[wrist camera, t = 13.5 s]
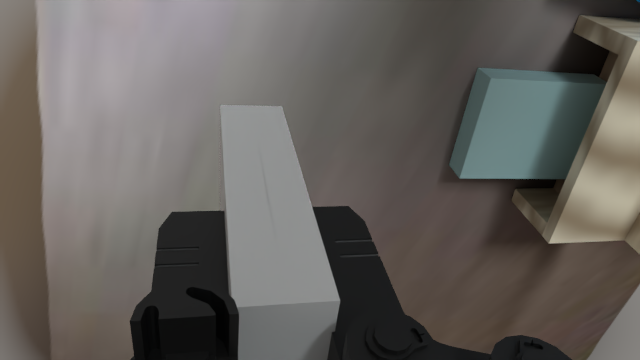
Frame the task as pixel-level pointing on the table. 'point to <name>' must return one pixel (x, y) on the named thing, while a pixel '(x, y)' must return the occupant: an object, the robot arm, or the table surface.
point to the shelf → (599, 152)
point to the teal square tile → (524, 124)
